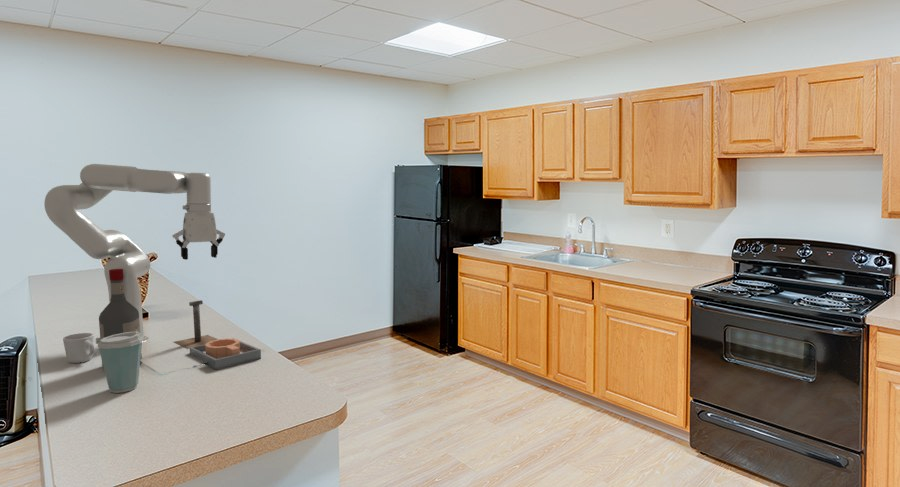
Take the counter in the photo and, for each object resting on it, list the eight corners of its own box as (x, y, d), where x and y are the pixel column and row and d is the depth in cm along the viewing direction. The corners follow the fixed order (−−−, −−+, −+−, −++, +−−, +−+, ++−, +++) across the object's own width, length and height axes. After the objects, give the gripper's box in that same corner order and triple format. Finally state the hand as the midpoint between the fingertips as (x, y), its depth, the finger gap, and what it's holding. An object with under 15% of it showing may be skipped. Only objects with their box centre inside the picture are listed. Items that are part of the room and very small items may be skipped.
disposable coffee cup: (98, 399, 141) (94, 342, 140) (103, 385, 151) (99, 332, 149) (145, 391, 146) (141, 337, 144) (146, 379, 156) (143, 328, 154)
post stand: (187, 352, 180) (185, 307, 178) (173, 345, 188) (170, 301, 186) (223, 344, 189) (221, 301, 187) (207, 338, 197) (205, 296, 195)
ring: (220, 365, 166) (220, 352, 165) (200, 355, 175) (200, 343, 175) (251, 357, 173) (251, 345, 173) (230, 348, 183) (230, 336, 182)
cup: (106, 360, 172) (104, 335, 172) (80, 367, 165) (78, 342, 164) (85, 355, 177) (83, 331, 176) (59, 362, 170) (57, 337, 169)
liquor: (144, 360, 172) (138, 266, 169) (132, 370, 163) (126, 271, 160) (112, 362, 171) (106, 267, 167) (99, 371, 162) (92, 272, 158)
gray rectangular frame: (215, 369, 163) (215, 360, 163) (190, 356, 176) (189, 347, 175) (260, 358, 174) (260, 349, 174) (233, 346, 186) (233, 338, 186)
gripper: (176, 209, 178) (177, 261, 180) (228, 209, 190) (229, 257, 192) (168, 208, 183) (169, 258, 185) (219, 208, 195) (220, 255, 197)
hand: (199, 258), depth 188 cm, fingers open, 9 cm apart
